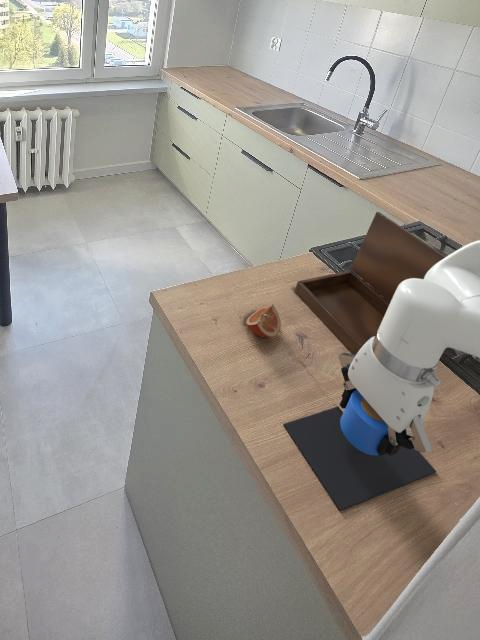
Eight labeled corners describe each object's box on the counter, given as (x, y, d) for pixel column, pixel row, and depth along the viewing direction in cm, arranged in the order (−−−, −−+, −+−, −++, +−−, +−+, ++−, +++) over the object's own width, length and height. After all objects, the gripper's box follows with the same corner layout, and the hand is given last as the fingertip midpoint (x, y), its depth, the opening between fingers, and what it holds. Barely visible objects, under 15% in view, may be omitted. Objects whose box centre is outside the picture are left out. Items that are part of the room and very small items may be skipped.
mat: (369, 397, 81) (370, 396, 81) (435, 472, 69) (436, 471, 69) (283, 425, 75) (283, 423, 75) (339, 511, 64) (340, 510, 64)
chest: (354, 360, 88) (360, 346, 86) (293, 294, 104) (297, 281, 102) (413, 343, 92) (420, 329, 91) (346, 282, 109) (351, 269, 107)
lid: (456, 265, 84) (471, 262, 85) (376, 211, 100) (390, 210, 101) (419, 328, 90) (434, 325, 92) (350, 268, 107) (364, 267, 108)
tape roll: (361, 408, 75) (373, 384, 72) (395, 449, 69) (409, 424, 66) (330, 418, 73) (341, 393, 70) (363, 460, 67) (376, 436, 64)
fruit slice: (256, 311, 99) (260, 295, 97) (284, 329, 94) (289, 313, 92) (238, 331, 93) (243, 315, 91) (267, 351, 89) (272, 334, 87)
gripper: (482, 404, 56) (432, 479, 63) (372, 304, 71) (342, 374, 79) (441, 418, 54) (395, 494, 61) (337, 313, 69) (309, 384, 77)
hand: (365, 426), depth 70 cm, fingers closed on tape roll, 6 cm apart
